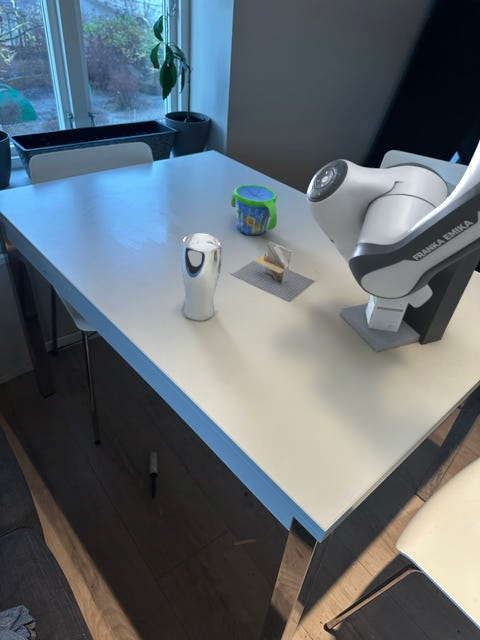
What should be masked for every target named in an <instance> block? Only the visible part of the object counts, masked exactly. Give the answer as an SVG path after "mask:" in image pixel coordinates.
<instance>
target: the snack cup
mask: <svg viewBox="0 0 480 640" xmlns="http://www.w3.org/2000/svg"><path fill="white" fill-rule="evenodd" d="M277 198H278V195H277V193H276V192H275V190H273V189H271V188H270V187H266V186H264V185H258V184H243V185H239V186H237V187H236V188H234V191H233V193H232V197H231V200H230V205H231V207H232V208H235V222H236V229H237V230H238V231H239V232H241V233H244V234H245V235H251V236H259V235H262V234H263V233H264V232H265V231H266V229H267V230H268V231H271V230H273V229H275V228H276V226H277V224H278V219H277V217H278V215H277V207H276V204H275V203H276V202H277Z"/></svg>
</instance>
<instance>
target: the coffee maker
mask: <svg viewBox="0 0 480 640" xmlns="http://www.w3.org/2000/svg"><path fill="white" fill-rule="evenodd" d="M444 181H445V180H444ZM445 182H446V184H447V187H448V195H447V198H448V197H449V196H450V195H451V193H452V192H453V191H454V190H455V188H456V187H457V185H455V184H453V183H451V182H448V181H447V180H446V181H445ZM479 262H480V248H478V249H476V250H474V251H473V252H471V253H469V254H468V255H466V256H464V257H463V258H461V259H459V260H458V261H456V262H454V263H453V264H451V265H449V266H447V267H446V268H444V269H442V270H441V271H439V272H438V273H436V274H435V275H434V276H433V277H432V278H431V279H430V280H429V282H428V283H427V284H428V286H429V287H430V289H431V291H432V296H431V297H430V298H429V299H428V300H427V301H426V302H425V303H424V304H422V305H421V306H420V307H413V306H412V305H411V304H409V303H408V305H407V308H406V310H405V313H404V316H403V318H402V321H401V323H400V326H399V328H398V331H397V332H390V331H382V330H376V329H371V328H368V323H367V318H366V313H365V311H366V307H367V304H368V302H367V303H363V304H362V303H361V304H357V305H353V306H352V305H351V306H346V307H343V308H341V309H340V312H339V316H341V318H343V319H344V321H346V322H347V324H349V326H351V328H352V329H353V330H354V331H356V333H357V334H358V335H359V336H360V337H361V338H362V339H363V340H364V341H365V342H366V343H367V344H368V345H369V346H370V348H372V349H373V350H374V351H375V352H376V353H378V352H383V351H387V350H391V349H394V348H395V349H396V348H398V347H402V346H405V345H410V344H413V343H417V342H418V343H419V344H420V345H427V344H430V343H433V342H437V341H441V340H442V338H443V336H444V334H445V332H446V330H447V328H448V325H449V324H450V321H451V320H452V318H453V316H454V314H455V311H456V309H457V307H458V305H459V303H460V301H461V299H462V297H463V295H464V293H465V291H466V289H467V287H468V285H469V283H470V281H471V280H472V279H471V278H472V277H473V274H474V272H475V270H476V268H477V266H478V264H479Z"/></svg>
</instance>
